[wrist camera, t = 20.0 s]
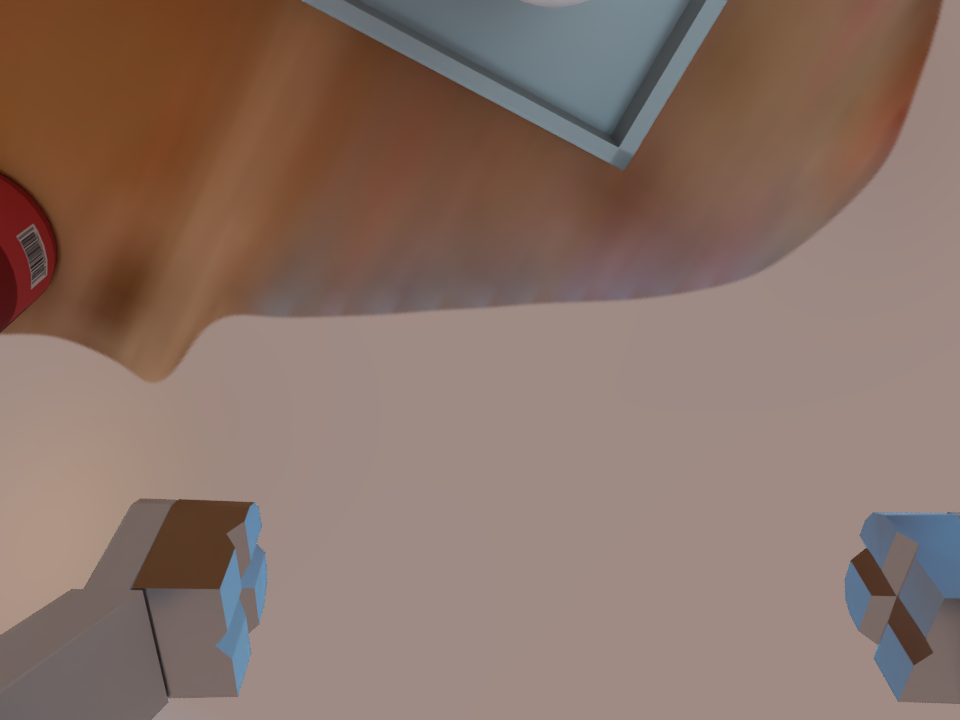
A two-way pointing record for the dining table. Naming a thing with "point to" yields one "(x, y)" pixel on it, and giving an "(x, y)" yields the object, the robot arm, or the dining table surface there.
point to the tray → (550, 57)
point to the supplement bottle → (554, 3)
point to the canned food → (22, 251)
